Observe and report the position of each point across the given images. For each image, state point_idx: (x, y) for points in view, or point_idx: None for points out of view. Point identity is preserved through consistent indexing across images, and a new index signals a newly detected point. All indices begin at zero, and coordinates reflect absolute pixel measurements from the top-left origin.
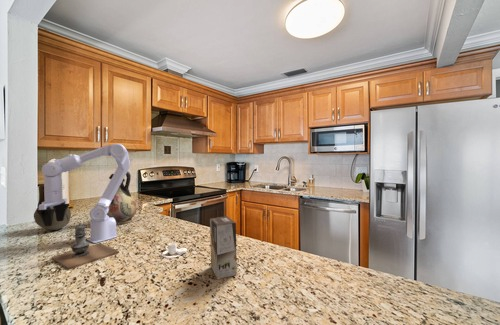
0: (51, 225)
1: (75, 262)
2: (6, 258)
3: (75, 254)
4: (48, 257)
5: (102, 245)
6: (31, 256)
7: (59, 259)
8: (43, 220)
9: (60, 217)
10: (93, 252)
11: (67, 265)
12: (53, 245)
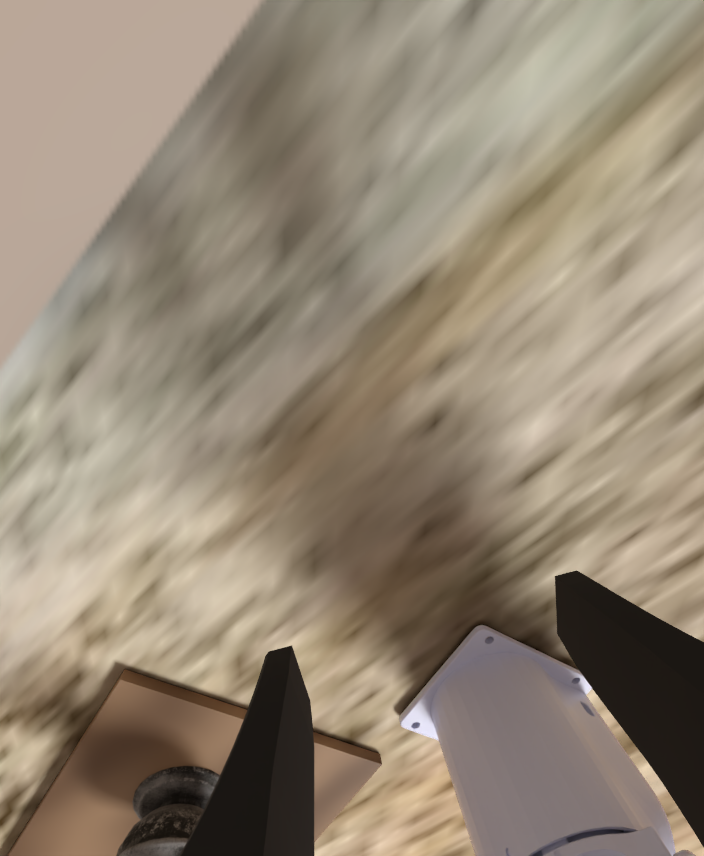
0: (306, 704)
1: (68, 853)
2: (54, 320)
3: (154, 800)
4: (136, 634)
5: (336, 802)
6: (133, 500)
7: (87, 755)
8: (236, 756)
9: (597, 661)
10: None
11: (22, 849)
12: (377, 460)
